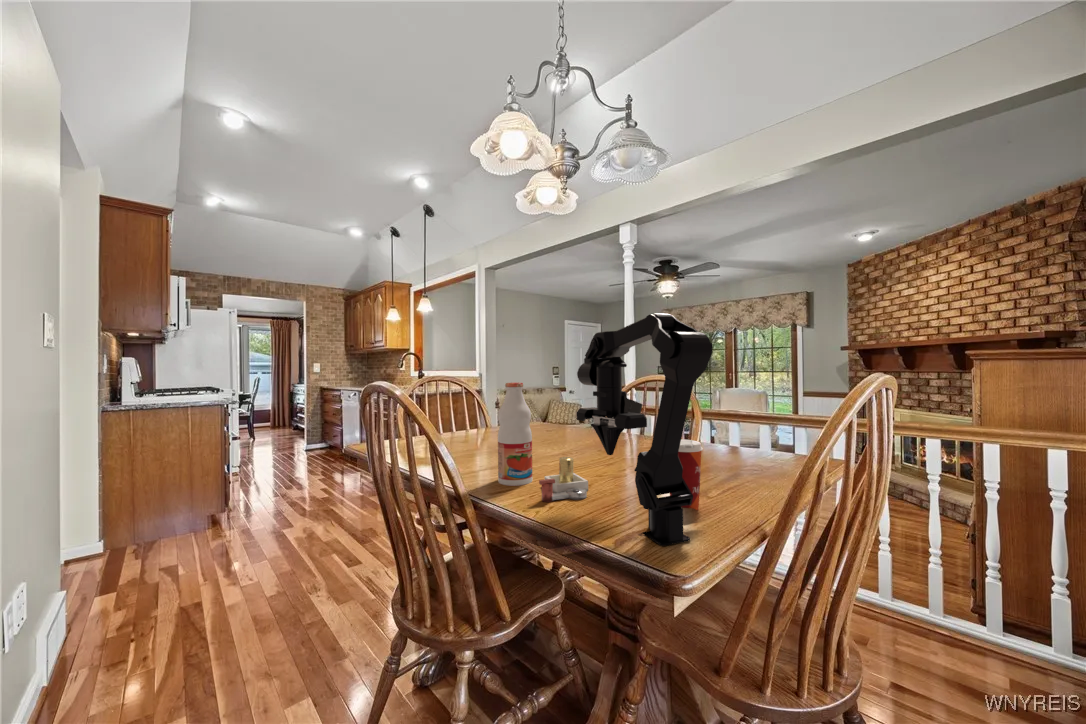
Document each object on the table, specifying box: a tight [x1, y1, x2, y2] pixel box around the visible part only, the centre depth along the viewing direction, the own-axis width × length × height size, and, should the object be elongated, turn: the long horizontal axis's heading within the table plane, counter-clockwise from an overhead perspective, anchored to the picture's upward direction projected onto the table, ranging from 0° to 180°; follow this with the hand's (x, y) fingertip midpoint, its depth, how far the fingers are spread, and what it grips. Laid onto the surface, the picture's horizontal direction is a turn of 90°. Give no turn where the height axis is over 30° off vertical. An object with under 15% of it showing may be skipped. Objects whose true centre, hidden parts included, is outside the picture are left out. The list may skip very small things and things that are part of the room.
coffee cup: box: [669, 438, 704, 511], centre depth 97 cm, size 8×8×15 cm
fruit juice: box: [497, 382, 534, 487], centre depth 117 cm, size 9×9×28 cm
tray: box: [544, 472, 589, 493], centre depth 110 cm, size 8×8×2 cm
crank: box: [538, 478, 588, 503], centre depth 101 cm, size 12×5×5 cm, turn 112°
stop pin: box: [558, 456, 574, 484], centre depth 109 cm, size 4×4×7 cm
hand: (610, 454), depth 98 cm, fingers closed
